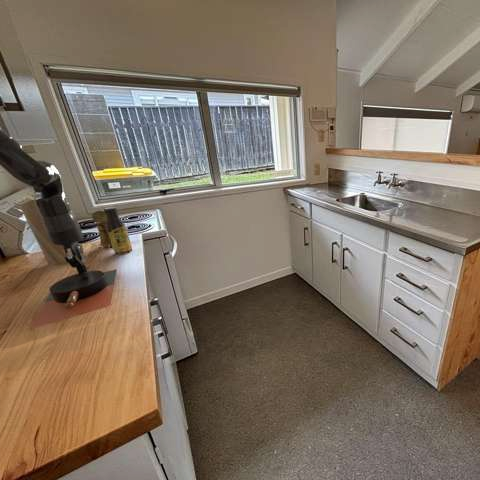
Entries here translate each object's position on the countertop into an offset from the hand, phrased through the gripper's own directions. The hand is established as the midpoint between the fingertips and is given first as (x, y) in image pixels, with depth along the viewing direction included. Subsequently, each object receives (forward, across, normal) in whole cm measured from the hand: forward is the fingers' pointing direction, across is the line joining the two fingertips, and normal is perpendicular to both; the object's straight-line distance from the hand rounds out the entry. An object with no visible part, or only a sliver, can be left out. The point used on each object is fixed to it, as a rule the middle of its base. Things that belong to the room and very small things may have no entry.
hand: (84, 274), depth 87 cm
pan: (+2, +12, 0) cm, 13 cm away
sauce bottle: (+3, -21, +10) cm, 24 cm away
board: (+3, +10, 0) cm, 11 cm away
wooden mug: (+3, -35, +5) cm, 36 cm away
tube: (+3, -27, -10) cm, 29 cm away
